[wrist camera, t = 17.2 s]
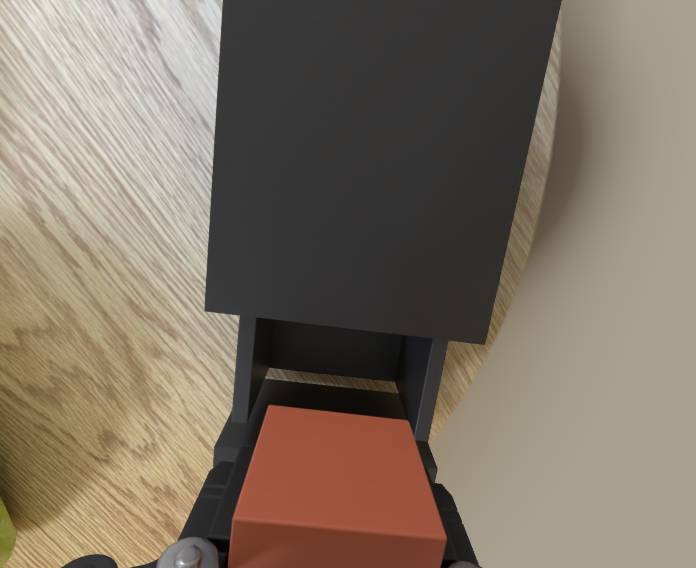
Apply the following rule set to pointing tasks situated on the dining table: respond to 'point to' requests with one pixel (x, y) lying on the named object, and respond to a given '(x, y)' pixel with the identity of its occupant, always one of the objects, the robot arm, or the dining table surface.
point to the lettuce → (6, 535)
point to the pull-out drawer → (335, 359)
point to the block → (335, 496)
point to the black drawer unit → (372, 159)
